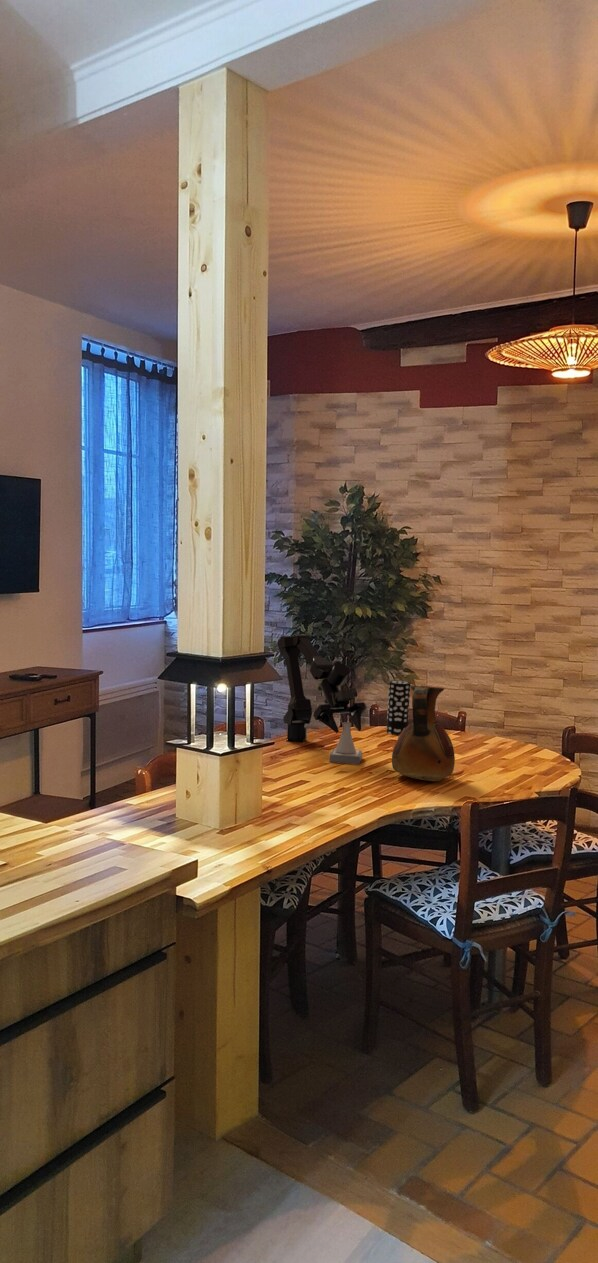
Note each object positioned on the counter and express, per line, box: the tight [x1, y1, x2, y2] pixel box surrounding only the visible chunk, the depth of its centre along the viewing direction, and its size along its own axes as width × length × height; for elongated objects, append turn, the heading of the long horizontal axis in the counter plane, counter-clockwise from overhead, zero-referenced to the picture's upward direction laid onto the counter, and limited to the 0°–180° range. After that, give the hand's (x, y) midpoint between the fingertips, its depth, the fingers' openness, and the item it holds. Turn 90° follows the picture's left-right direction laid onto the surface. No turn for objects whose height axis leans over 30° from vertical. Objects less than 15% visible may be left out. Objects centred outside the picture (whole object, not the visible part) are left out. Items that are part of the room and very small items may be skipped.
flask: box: [335, 721, 357, 754], centre depth 313 cm, size 7×7×10 cm
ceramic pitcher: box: [391, 684, 456, 782], centre depth 291 cm, size 20×20×30 cm
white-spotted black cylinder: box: [385, 680, 412, 736], centre depth 363 cm, size 8×8×20 cm
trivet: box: [329, 748, 363, 765], centre depth 314 cm, size 10×10×3 cm
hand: (349, 731), depth 312 cm, fingers open, 9 cm apart
